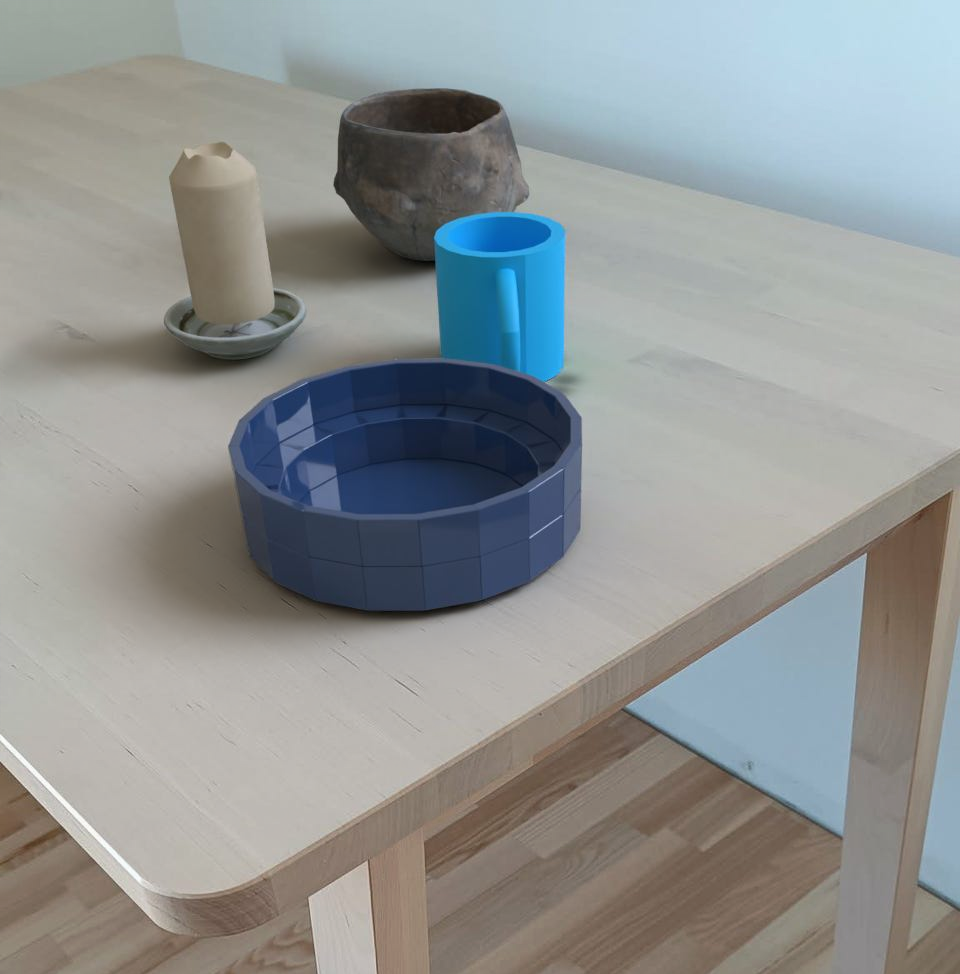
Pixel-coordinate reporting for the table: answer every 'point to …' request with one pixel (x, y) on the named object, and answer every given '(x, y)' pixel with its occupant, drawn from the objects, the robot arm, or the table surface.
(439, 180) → the bowl
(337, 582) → the serving bowl
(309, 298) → the table surface
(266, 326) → the saucer
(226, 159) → the candle
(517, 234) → the mug
